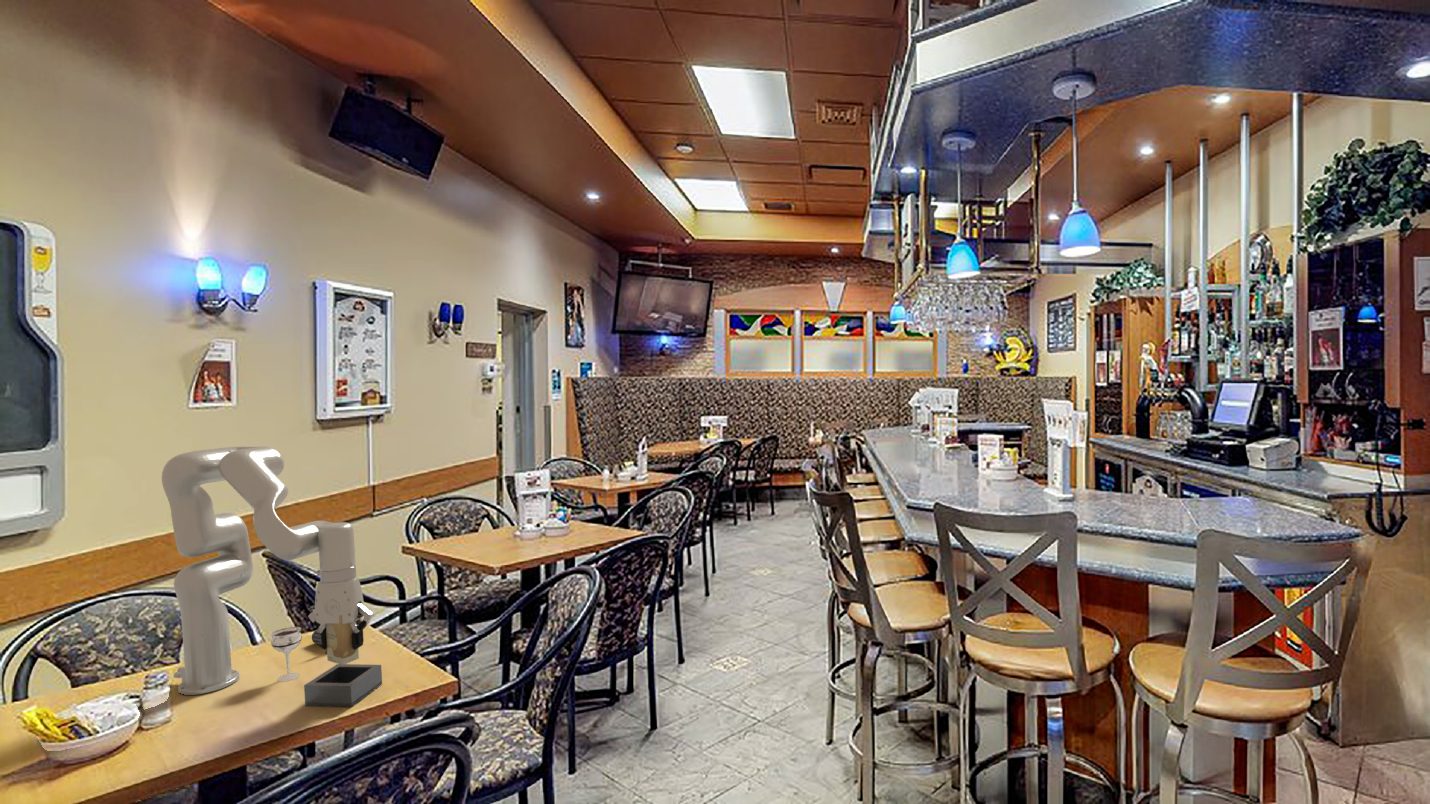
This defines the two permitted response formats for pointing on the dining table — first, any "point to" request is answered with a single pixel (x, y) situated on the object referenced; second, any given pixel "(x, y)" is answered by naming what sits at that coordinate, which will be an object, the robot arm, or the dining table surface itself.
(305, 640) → the dining table surface
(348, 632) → the skincare box
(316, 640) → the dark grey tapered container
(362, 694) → the rectangular box socket
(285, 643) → the wineglass
